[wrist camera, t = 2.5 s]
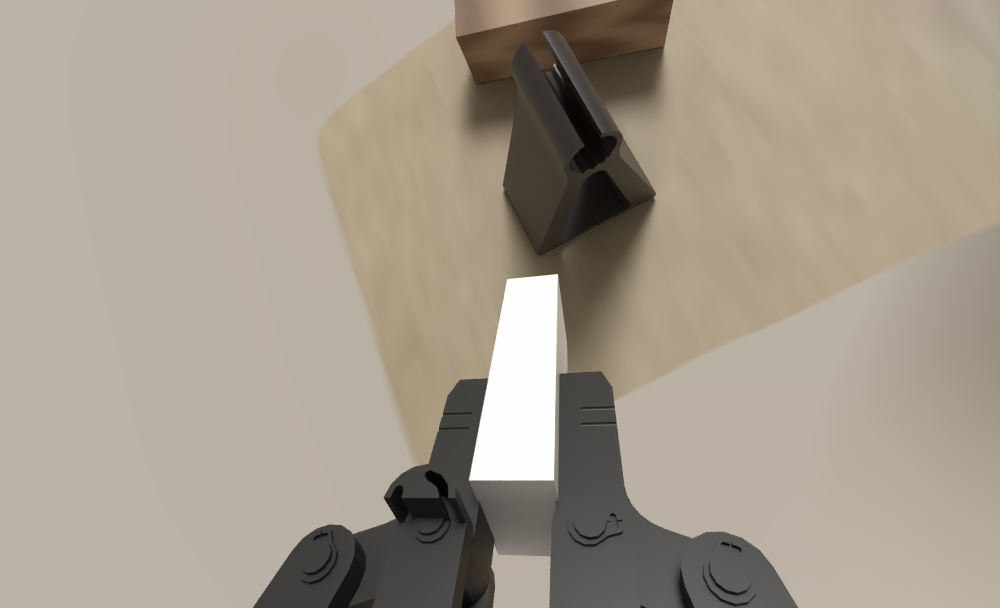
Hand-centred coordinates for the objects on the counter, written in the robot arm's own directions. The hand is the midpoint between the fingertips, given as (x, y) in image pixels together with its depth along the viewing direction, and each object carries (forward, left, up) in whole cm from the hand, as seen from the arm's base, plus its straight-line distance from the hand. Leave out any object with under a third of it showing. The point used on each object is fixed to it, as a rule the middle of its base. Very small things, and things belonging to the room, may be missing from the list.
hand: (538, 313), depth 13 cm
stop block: (-1, -22, -17) cm, 28 cm away
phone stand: (-1, -11, -17) cm, 20 cm away
